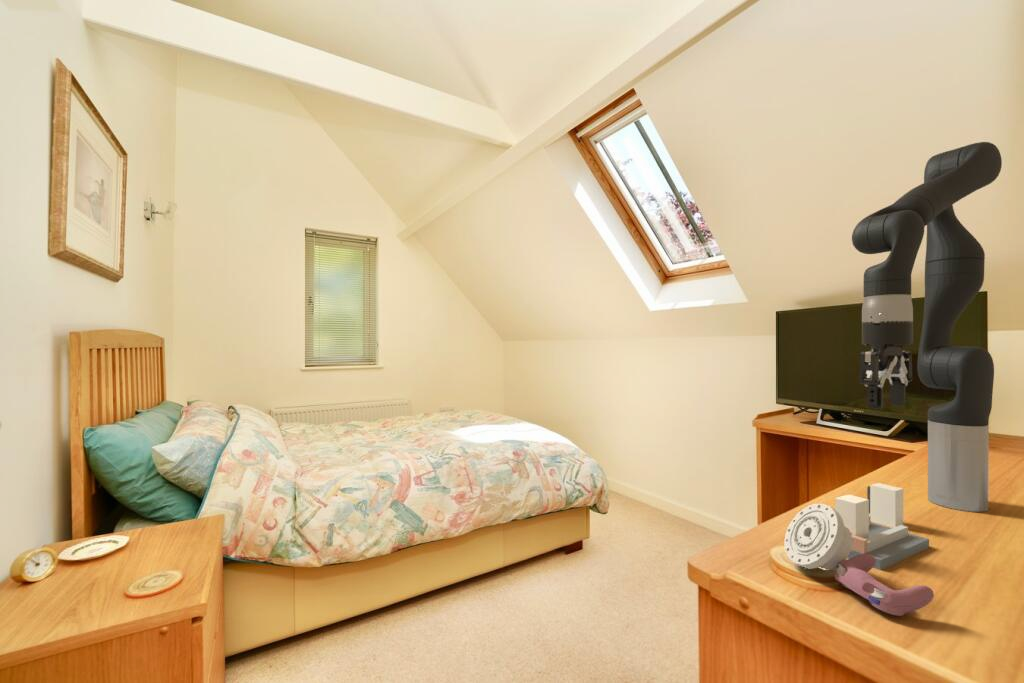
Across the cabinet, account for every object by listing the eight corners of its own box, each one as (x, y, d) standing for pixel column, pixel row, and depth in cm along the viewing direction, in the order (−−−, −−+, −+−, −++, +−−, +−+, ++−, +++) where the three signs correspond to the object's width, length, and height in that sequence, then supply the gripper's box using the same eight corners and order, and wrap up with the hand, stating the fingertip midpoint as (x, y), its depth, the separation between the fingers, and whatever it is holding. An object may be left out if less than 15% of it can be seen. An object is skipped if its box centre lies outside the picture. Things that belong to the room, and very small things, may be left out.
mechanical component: (776, 527, 76) (822, 490, 72) (799, 542, 76) (847, 506, 72) (791, 576, 68) (845, 536, 63) (818, 593, 67) (874, 555, 63)
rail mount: (854, 525, 87) (854, 479, 87) (929, 548, 77) (929, 496, 77) (804, 542, 79) (804, 492, 79) (880, 570, 70) (880, 513, 70)
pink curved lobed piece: (866, 583, 67) (821, 578, 66) (871, 552, 67) (825, 547, 66) (934, 627, 57) (881, 621, 56) (940, 590, 57) (887, 584, 56)
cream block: (903, 526, 86) (903, 488, 86) (895, 529, 85) (895, 491, 85) (874, 518, 91) (874, 482, 91) (866, 520, 89) (866, 484, 89)
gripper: (882, 321, 94) (882, 402, 94) (844, 320, 88) (844, 406, 87) (929, 320, 88) (929, 406, 88) (891, 318, 81) (891, 411, 81)
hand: (886, 406), depth 88 cm, fingers open, 8 cm apart
